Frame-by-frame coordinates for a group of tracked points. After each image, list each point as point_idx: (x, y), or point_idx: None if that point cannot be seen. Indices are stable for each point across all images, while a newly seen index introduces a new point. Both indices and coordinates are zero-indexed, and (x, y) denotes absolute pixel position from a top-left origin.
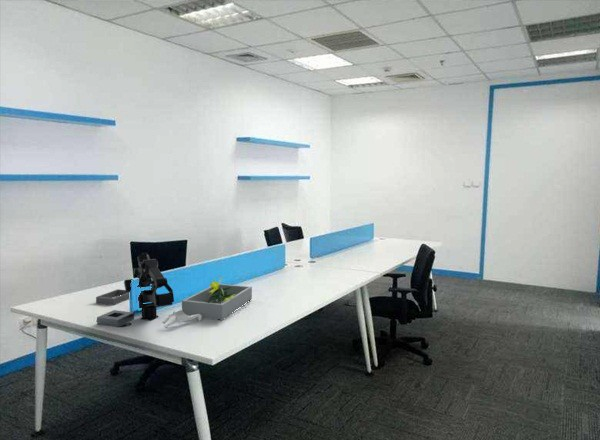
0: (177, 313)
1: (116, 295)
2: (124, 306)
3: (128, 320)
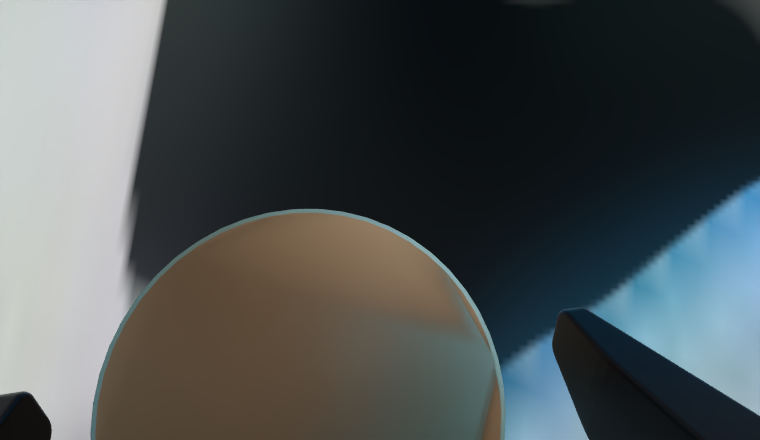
0: None
1: None
2: (138, 80)
3: None
